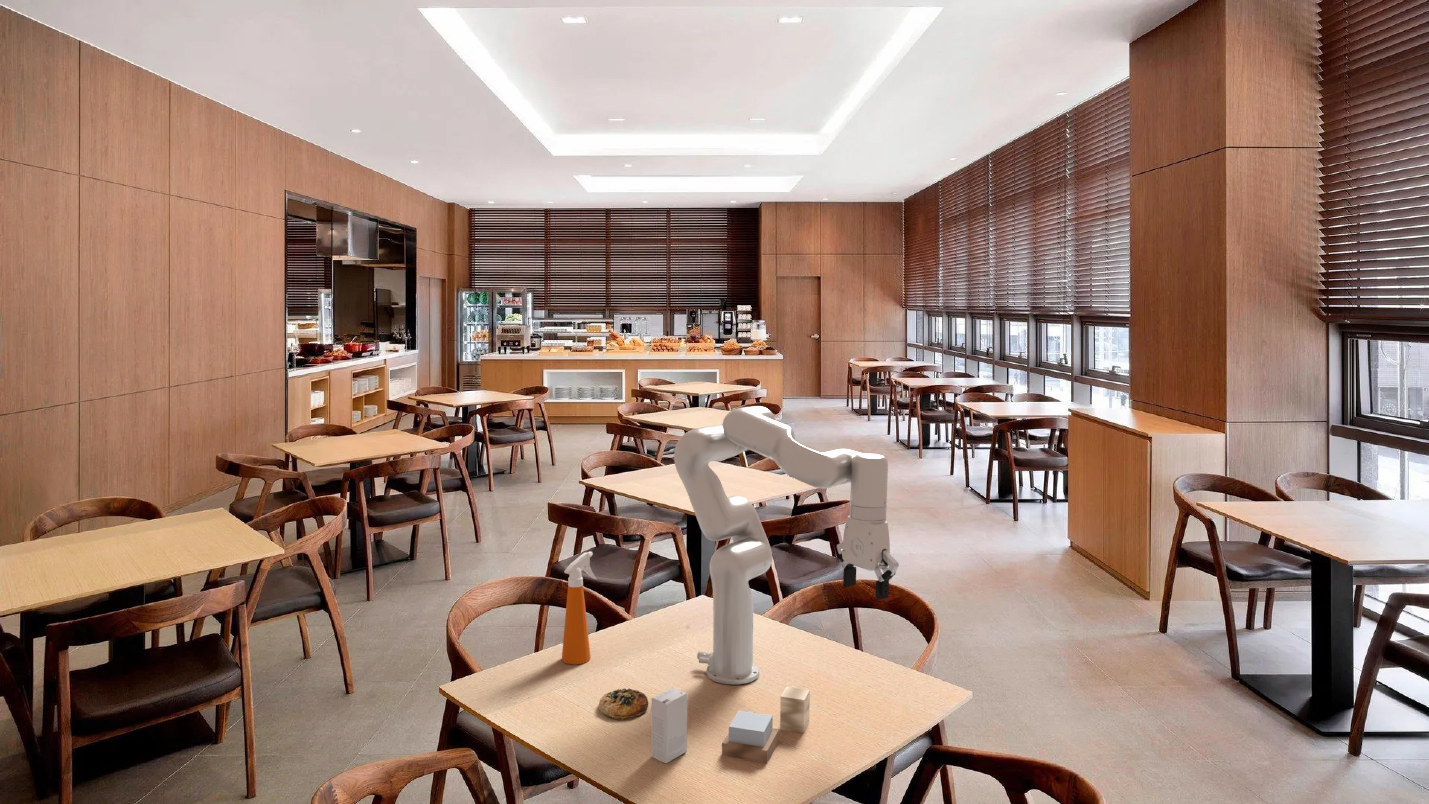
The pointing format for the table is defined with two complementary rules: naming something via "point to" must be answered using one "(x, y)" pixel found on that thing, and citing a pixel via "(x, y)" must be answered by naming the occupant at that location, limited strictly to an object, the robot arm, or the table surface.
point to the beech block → (794, 709)
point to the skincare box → (668, 725)
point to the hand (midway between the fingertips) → (865, 592)
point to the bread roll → (623, 704)
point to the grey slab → (750, 728)
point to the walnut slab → (751, 748)
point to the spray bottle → (576, 613)
